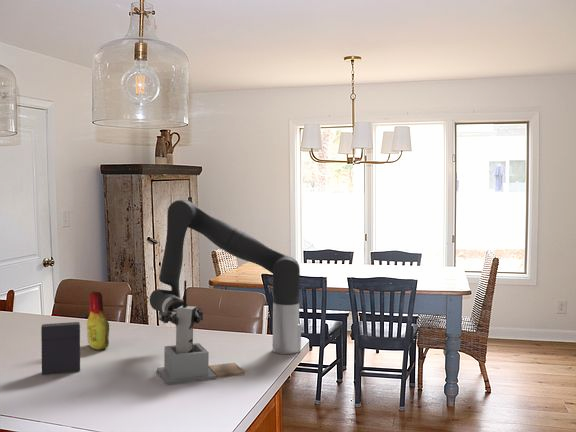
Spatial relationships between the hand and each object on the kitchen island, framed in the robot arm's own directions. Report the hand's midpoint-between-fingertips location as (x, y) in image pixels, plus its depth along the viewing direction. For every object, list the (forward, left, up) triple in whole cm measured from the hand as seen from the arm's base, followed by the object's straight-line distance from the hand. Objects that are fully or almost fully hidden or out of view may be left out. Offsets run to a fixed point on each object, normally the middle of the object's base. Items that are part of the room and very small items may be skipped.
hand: (187, 320), depth 174 cm
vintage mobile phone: (0, -3, -13) cm, 13 cm away
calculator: (+35, -19, -17) cm, 44 cm away
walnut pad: (-13, -1, -17) cm, 21 cm away
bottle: (+22, -43, -17) cm, 52 cm away
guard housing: (0, -2, -17) cm, 17 cm away
